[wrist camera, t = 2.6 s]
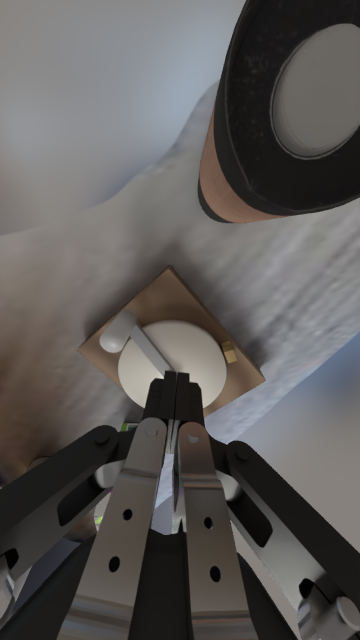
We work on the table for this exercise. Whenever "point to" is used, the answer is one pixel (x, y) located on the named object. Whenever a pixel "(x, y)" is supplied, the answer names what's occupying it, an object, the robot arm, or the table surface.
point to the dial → (164, 355)
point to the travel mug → (285, 113)
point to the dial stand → (181, 304)
